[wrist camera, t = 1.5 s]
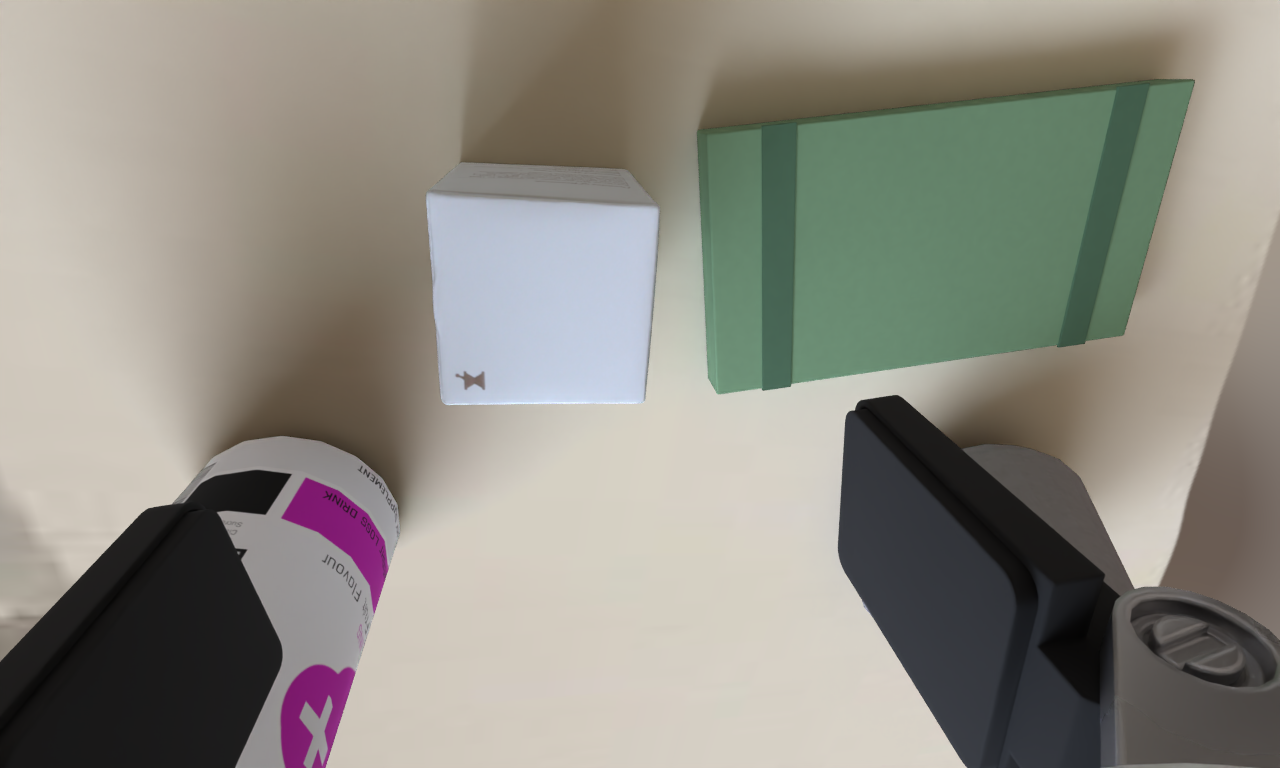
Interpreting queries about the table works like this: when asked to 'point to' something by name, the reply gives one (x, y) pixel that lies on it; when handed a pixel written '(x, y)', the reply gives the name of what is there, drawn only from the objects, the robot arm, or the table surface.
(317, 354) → the table surface
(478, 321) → the product box
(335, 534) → the supplement can
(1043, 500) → the coffee pot
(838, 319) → the dish towel
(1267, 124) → the table surface
